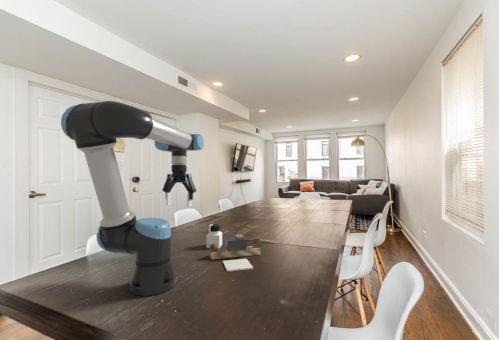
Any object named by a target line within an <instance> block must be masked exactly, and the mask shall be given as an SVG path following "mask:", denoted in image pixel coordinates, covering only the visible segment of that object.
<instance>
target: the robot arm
mask: <svg viewBox="0 0 499 340" xmlns="http://www.w3.org/2000/svg"><path fill="white" fill-rule="evenodd" d="M60 126H61V130H62V131H63V133H64V135H65V136H67V137H68V138H69V139H70V140H72V141H74V143H75V146H76V149H77V150H79V151H80V152H83V154H84V156H85V161H86V164H87V167H88V170H89V173H90V177H91V181H92V183H93V188H94V191H95V195H96V197H97V202H98V205H99V207H100V212H101V214H102V218H101V220H100V222H99V227H98V229H97V233H96V242H97V244H98V246H99V247H100V248H101V249H102V250H103V251H105V252H109V253H112V254H124V255H125V254H126V255H135V266H134V270H133V273H132V276H131V279H130V284H129V292H130V293H131V294H133V295H136V296H141V297H143V296H144V297H146V296H147V297H148V296H154V295H155V296H156V295H159V294H162V293H165V292H167V291H169V290H171V289H172V288H173V287H174V286H175V285H176V283H177V282H176V280H177V279H176V274H175V270H174V268H173V265H172V261H171V257H172V255H171V254H172V253H171V250H172V249H171V247H172V244H171V243H172V239H171V236H172V230H171V224H170V222H169V221H168V220H166V219H164V218H160V217H159V218H158V217H142V218H139V219H137V217H136V216H137V215H136V213H135V212H134V211H132V210H130V207H129V203H128V199H127V196H126V192H125V188H124V185H123V179H122V176H121V172H120V168H119V165H118V161H117V157H116V153H115V149H114V147H115V146H116V145H117V143H118V141H117V139H127V138H128V139H129V138H130V139H137V140H145V139H148V140H150V141H151V140H152V141H153V142H154V147H155V148H156V149H157V151H158V150H159V151H162V152H170V153H171V173H167V174H166V175H167V176H166V179H165V182H164V184H163V187H162V190H161V191H163V192H165V199H166V200H165V202H166V206H170V205H172V189H173V188H174V186H175V185H176V184H178V183H179V184H182V185H183V186H184V188H185V190H186V191H187V192H188V193H187V196H186V197H187V198H186V201H187V202H186V204H187V205H186V206H187V207H192V206H193V200H194V193H196V192H197V187H196V186H195V183H194V181H193V179H192V173H187V172H188V171H187V169H188V168H187V164H188V161H187V157H188V155H187V152H189V151H191V152H192V151H196V152H197V151H201V150H202V149H203V148H204V146H205V139H204V136H203V135H202V134H201V133H194V134H193V133H191V132H187V131H184V130H183V129H180V128H178V127H175V126H173V125H170V124H168V123H166V122H163V121H161V120H159V119H156V118H154V117H153V116H152V115H151V114H150V113H149V112H147V111H145V110H142V109H140V108H137V107H135V106H133V105H129V104H127V103H124V102H119V101H115V100H103V101H97V102H96V101H95V102H87V103H84V102H82V103H78V104H75V105H71V106H70V107H67V108H66V109H65V111H64V112H63V113H62V116H61V119H60Z"/></svg>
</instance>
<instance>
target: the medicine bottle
mask: <svg viewBox="0 0 499 340" xmlns="http://www.w3.org/2000/svg"><path fill="white" fill-rule="evenodd" d="M210 244H218V249H221V247H222V245H223V232H222V231H221V225H220V224H219V223H211V224H209V225H208V233H207V234H206V249H210Z"/></svg>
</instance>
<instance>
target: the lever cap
mask: <svg viewBox="0 0 499 340" xmlns="http://www.w3.org/2000/svg"><path fill="white" fill-rule="evenodd" d="M247 245H248V244H247V238H246V237H245V236H244V235H243V234H241V233H240V234H235V235H231V236H224V248H226V249H227V251H228V252H232V251H242V250H247Z"/></svg>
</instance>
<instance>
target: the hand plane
mask: <svg viewBox="0 0 499 340" xmlns="http://www.w3.org/2000/svg"><path fill="white" fill-rule="evenodd" d="M260 239H261V238H260V237H252V239H251V240H252V241H251V242H252V245H248V246H247V250H242V251H232V252H228V251H227V249H226V248H225V247H224V248H219V249H218V244H210V248H209V251H210V252H209V255H210V256H209V257H210V260H218V259H229V258H238V257H239V258H240V257H249V256H250V257H251V256H257V255H258V256H260V255H261V241H260Z"/></svg>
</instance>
